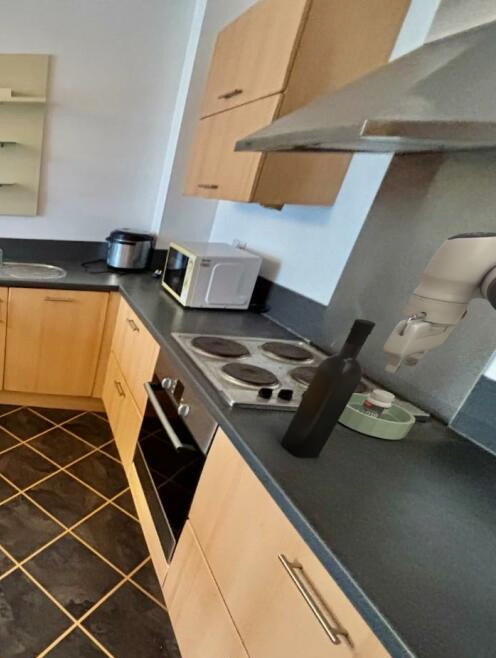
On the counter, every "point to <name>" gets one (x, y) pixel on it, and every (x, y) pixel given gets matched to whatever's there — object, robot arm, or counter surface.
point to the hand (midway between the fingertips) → (400, 368)
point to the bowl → (377, 420)
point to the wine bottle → (327, 395)
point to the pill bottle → (377, 404)
